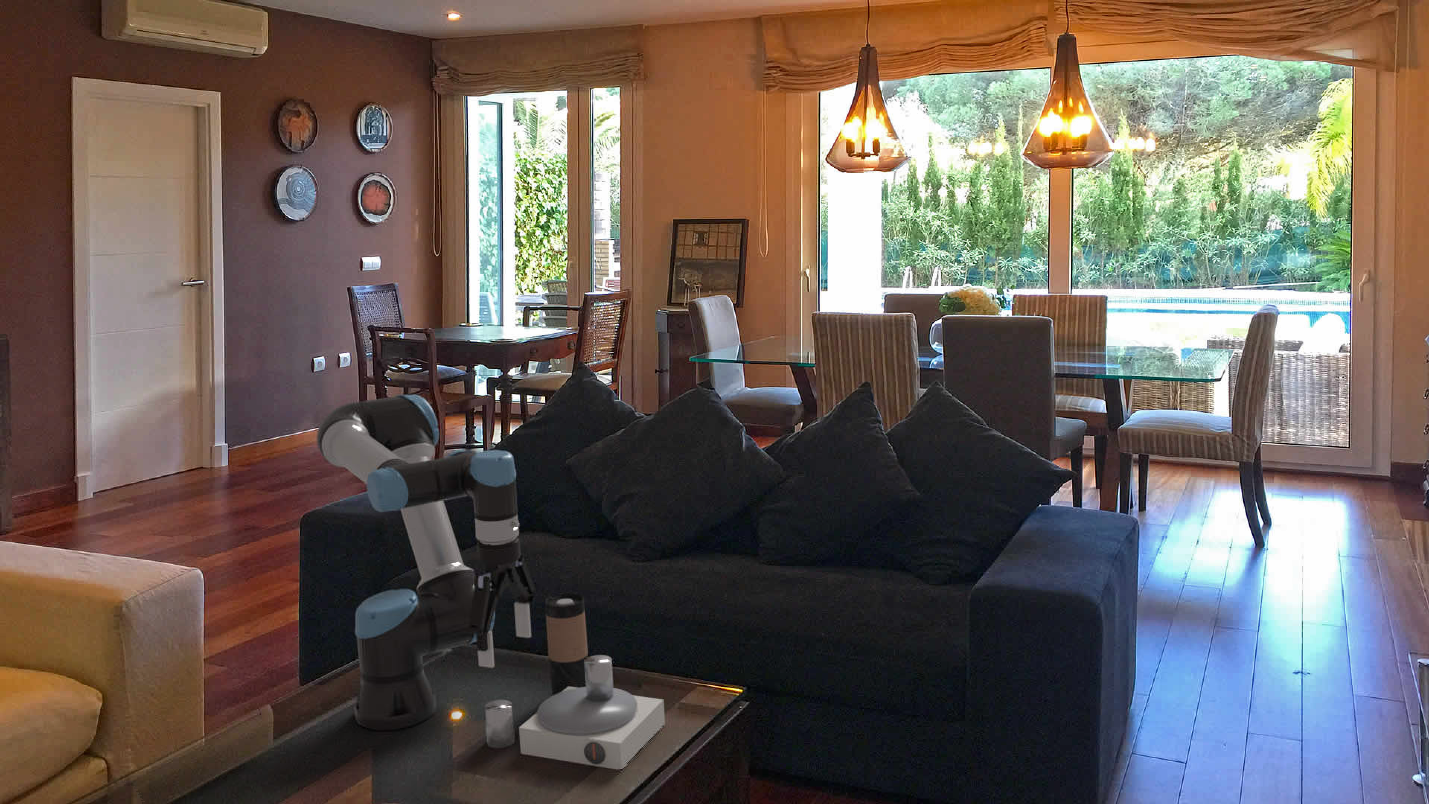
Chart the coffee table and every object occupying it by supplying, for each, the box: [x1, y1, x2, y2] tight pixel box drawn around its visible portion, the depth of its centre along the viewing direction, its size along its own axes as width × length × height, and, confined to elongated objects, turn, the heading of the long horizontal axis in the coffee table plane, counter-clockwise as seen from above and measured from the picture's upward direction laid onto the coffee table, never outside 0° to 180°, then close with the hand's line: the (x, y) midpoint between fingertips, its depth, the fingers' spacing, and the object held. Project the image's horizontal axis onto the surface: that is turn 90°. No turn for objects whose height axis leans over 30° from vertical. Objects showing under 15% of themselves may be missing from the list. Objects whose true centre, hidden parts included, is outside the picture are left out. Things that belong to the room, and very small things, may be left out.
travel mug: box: [544, 592, 589, 696], centre depth 237 cm, size 8×8×20 cm
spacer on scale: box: [584, 654, 614, 702], centre depth 223 cm, size 5×5×7 cm
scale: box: [518, 686, 666, 771], centre depth 219 cm, size 20×18×6 cm
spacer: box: [483, 699, 516, 749], centre depth 220 cm, size 5×5×7 cm
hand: (505, 651), depth 219 cm, fingers open, 13 cm apart
